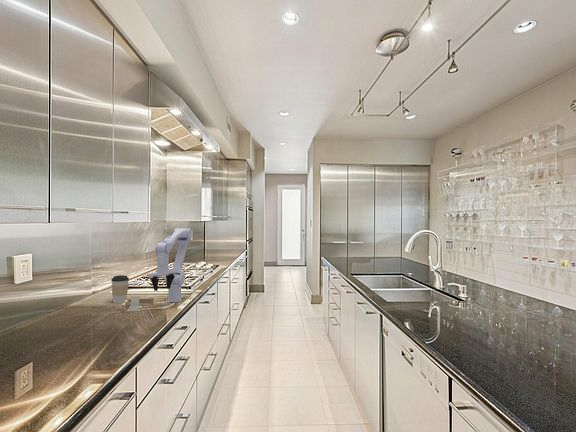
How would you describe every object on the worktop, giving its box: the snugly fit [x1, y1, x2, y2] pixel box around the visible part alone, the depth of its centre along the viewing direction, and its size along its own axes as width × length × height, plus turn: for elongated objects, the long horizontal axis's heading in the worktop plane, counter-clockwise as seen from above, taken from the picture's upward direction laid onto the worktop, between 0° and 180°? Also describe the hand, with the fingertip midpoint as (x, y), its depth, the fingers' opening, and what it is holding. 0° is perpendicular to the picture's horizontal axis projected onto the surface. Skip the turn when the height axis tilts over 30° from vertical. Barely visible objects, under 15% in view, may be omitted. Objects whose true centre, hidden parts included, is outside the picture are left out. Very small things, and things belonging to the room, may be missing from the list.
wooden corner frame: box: [120, 297, 154, 313], centre depth 175 cm, size 13×14×4 cm
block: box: [129, 295, 141, 312], centre depth 172 cm, size 7×4×6 cm, turn 19°
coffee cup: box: [111, 274, 130, 304], centre depth 187 cm, size 9×9×15 cm
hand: (162, 289), depth 177 cm, fingers open, 7 cm apart
